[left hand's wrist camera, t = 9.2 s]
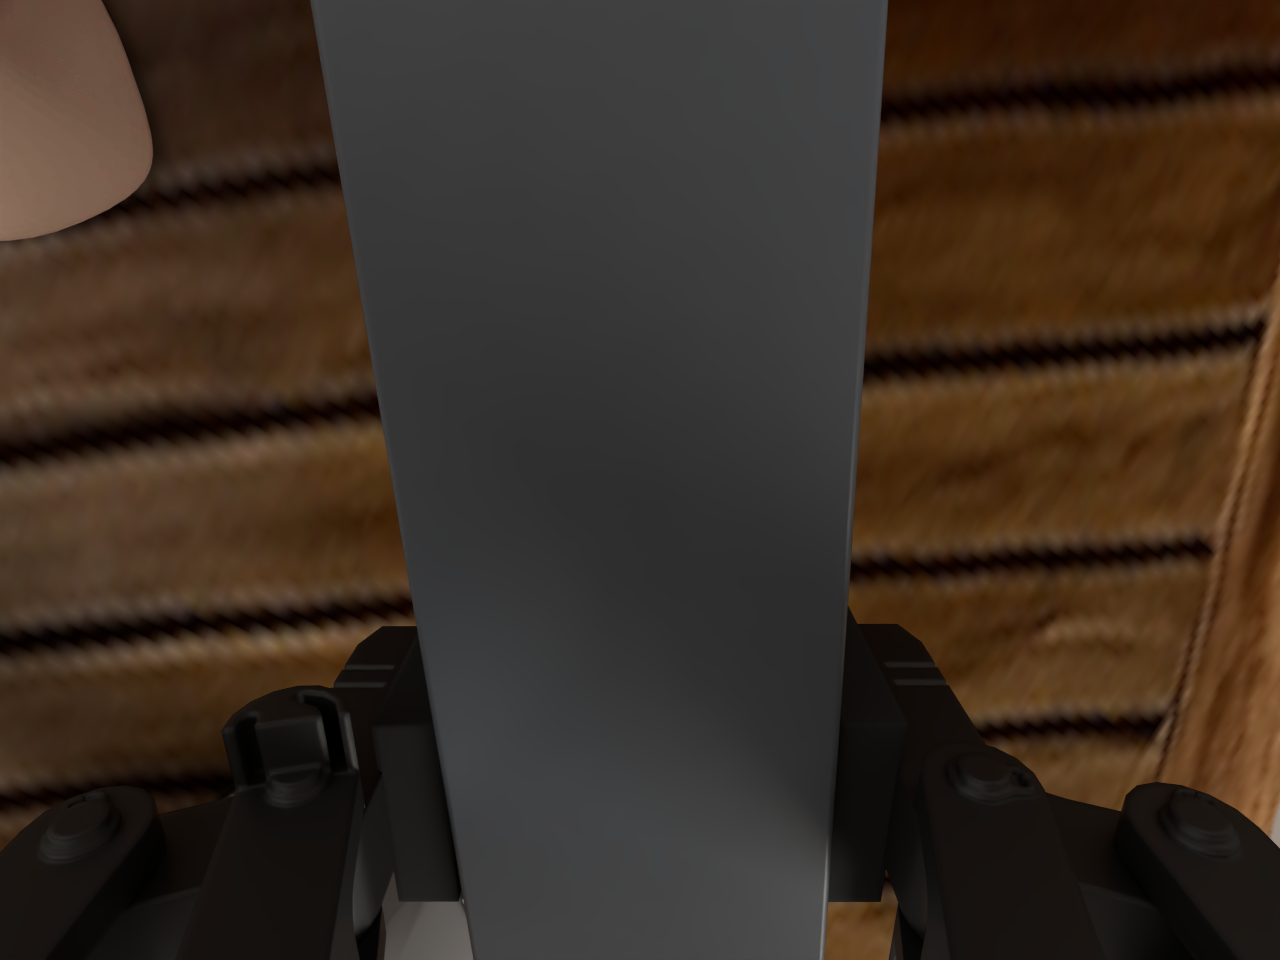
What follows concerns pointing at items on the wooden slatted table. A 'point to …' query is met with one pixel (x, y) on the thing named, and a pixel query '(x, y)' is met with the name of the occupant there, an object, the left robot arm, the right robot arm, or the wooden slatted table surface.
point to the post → (621, 440)
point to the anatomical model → (65, 117)
